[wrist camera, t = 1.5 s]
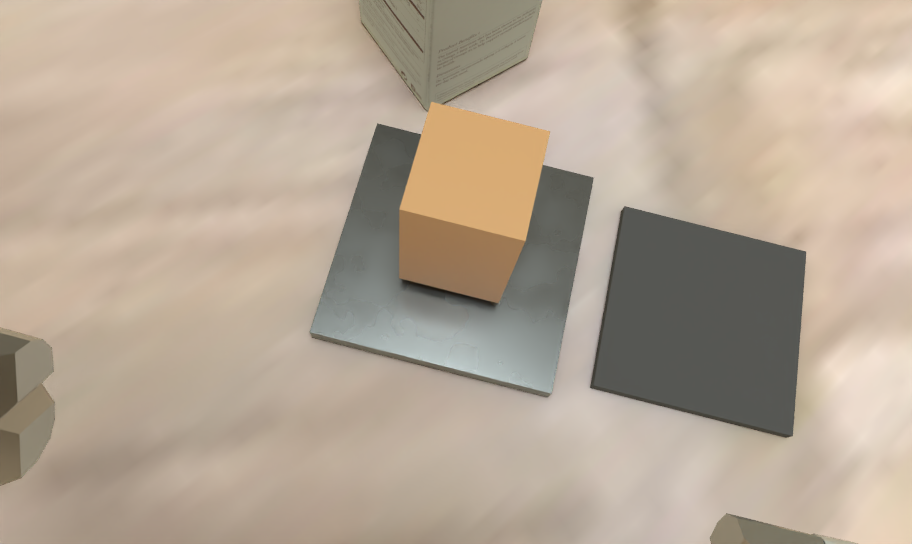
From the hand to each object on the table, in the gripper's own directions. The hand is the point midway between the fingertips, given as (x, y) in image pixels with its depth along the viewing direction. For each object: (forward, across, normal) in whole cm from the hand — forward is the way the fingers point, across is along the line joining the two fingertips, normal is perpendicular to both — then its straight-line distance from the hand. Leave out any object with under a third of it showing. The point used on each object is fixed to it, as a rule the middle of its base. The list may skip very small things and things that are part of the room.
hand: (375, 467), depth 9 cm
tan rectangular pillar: (+27, 0, +8) cm, 28 cm away
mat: (+28, -13, +9) cm, 32 cm away
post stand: (+28, 0, +9) cm, 29 cm away
